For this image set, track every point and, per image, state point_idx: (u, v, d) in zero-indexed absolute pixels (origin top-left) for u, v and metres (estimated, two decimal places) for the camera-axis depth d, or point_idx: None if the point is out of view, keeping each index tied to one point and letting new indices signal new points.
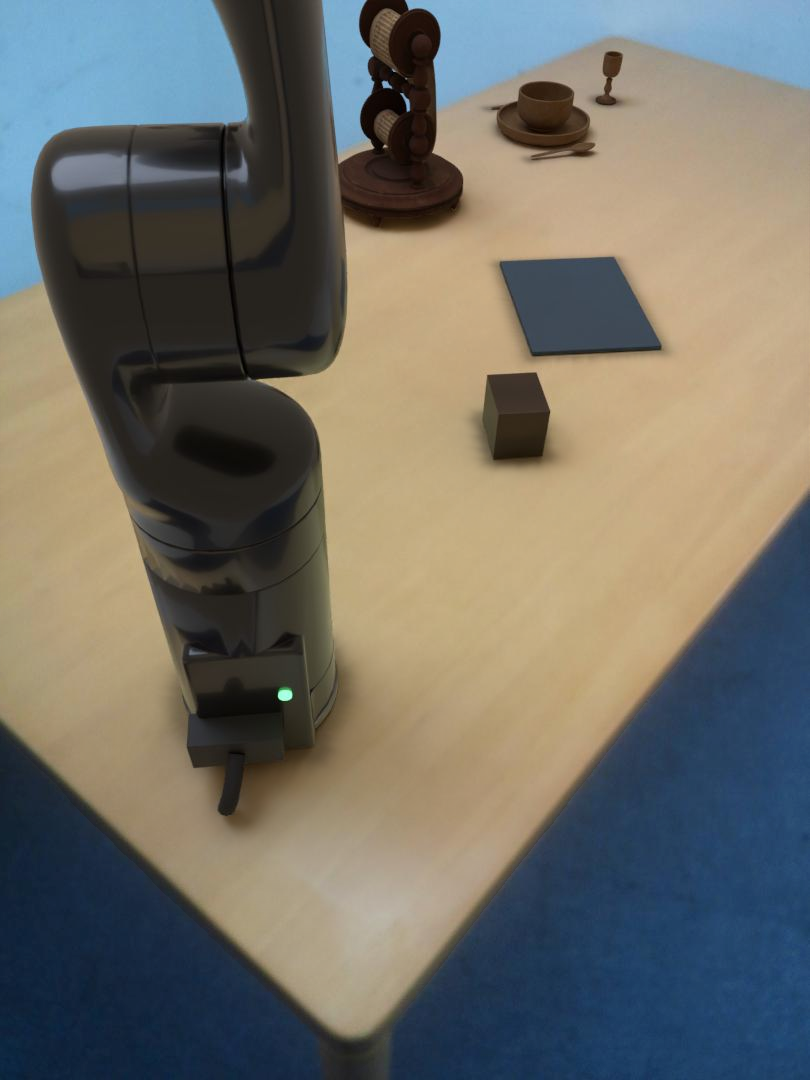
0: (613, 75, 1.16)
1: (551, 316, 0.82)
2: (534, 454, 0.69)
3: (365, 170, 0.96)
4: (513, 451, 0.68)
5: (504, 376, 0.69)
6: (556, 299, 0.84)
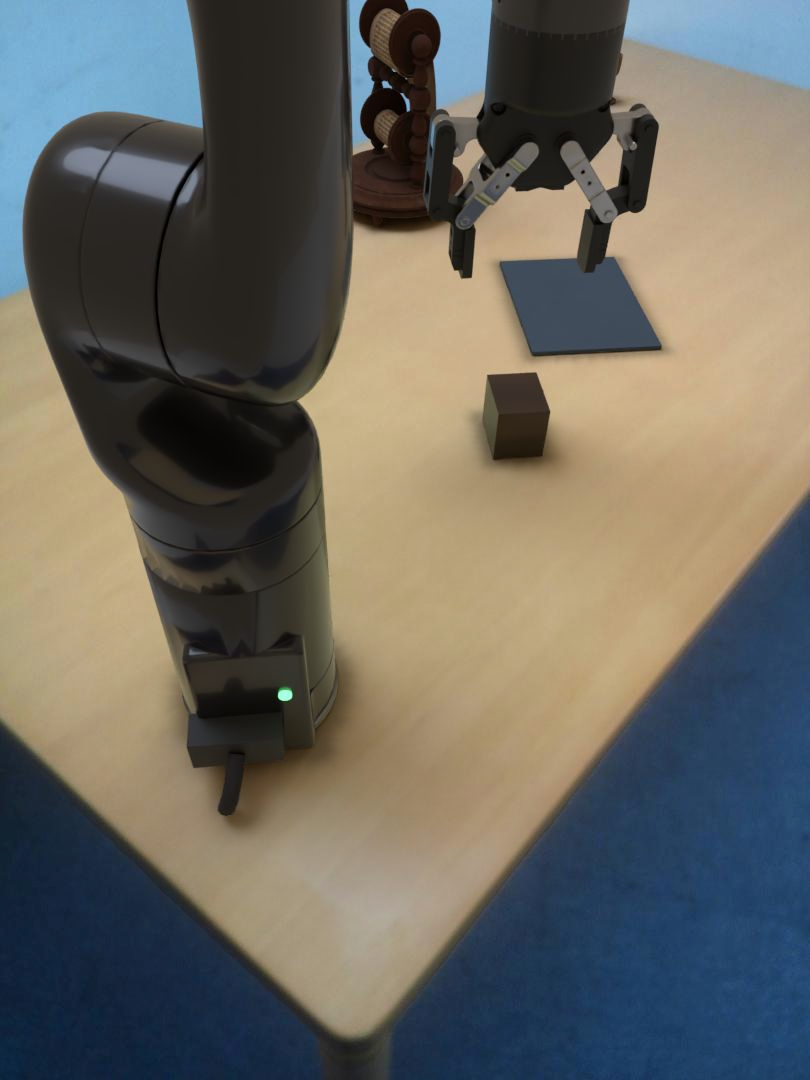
0: None
1: (551, 316, 0.82)
2: (534, 454, 0.69)
3: (365, 170, 0.96)
4: (513, 451, 0.68)
5: (504, 376, 0.69)
6: (556, 299, 0.84)
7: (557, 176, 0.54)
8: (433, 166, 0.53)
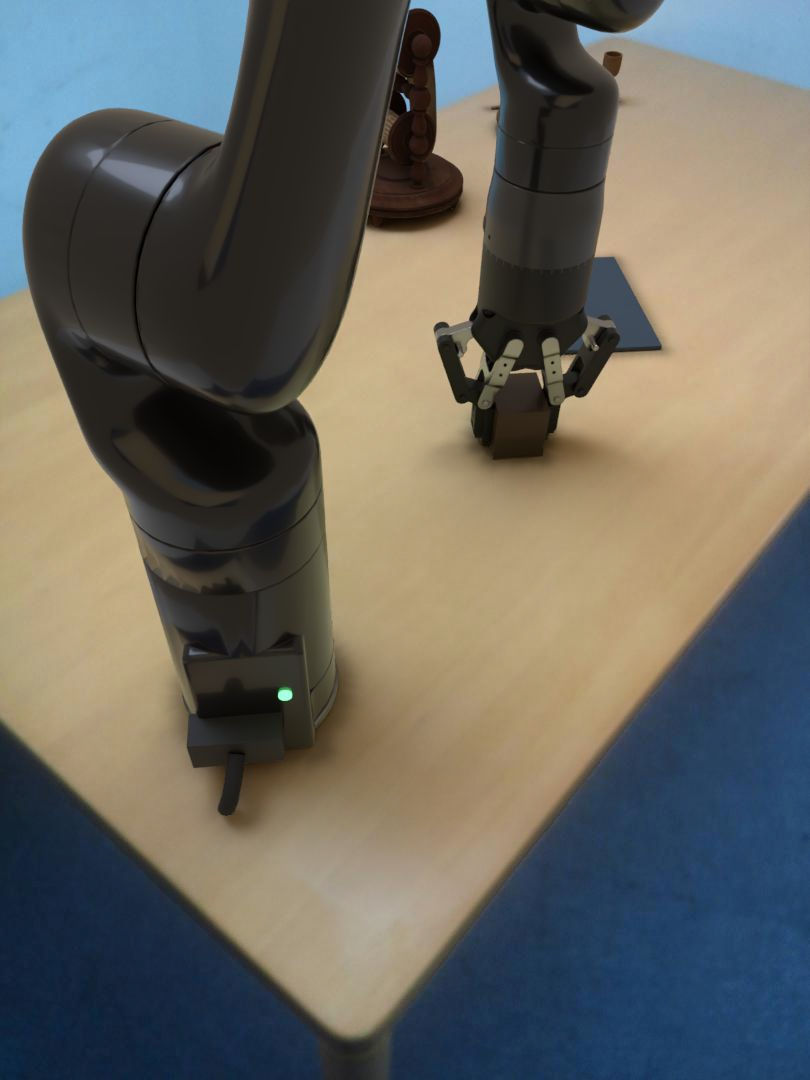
0: (613, 75, 1.16)
1: None
2: (534, 454, 0.69)
3: None
4: (513, 451, 0.68)
5: None
6: None
7: (540, 360, 0.64)
8: (445, 370, 0.63)
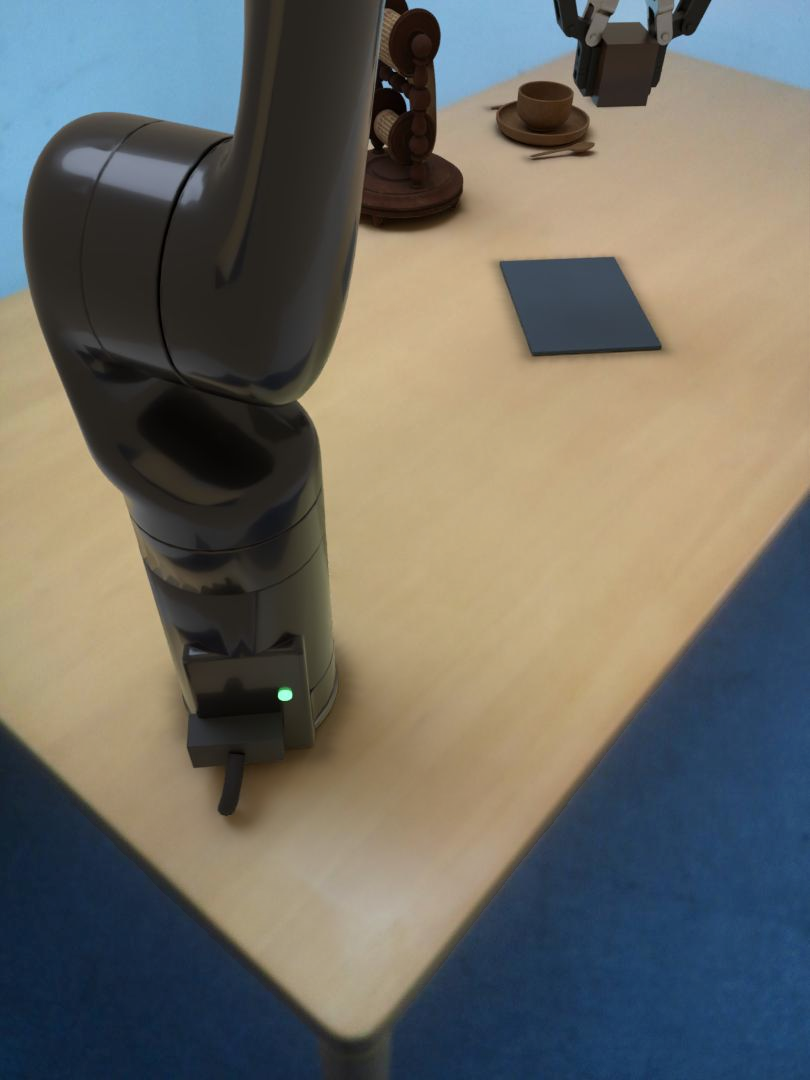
0: None
1: (551, 316, 0.82)
2: (638, 103, 0.68)
3: (365, 170, 0.96)
4: (617, 97, 0.68)
5: (608, 23, 0.68)
6: (556, 299, 0.84)
7: None
8: None
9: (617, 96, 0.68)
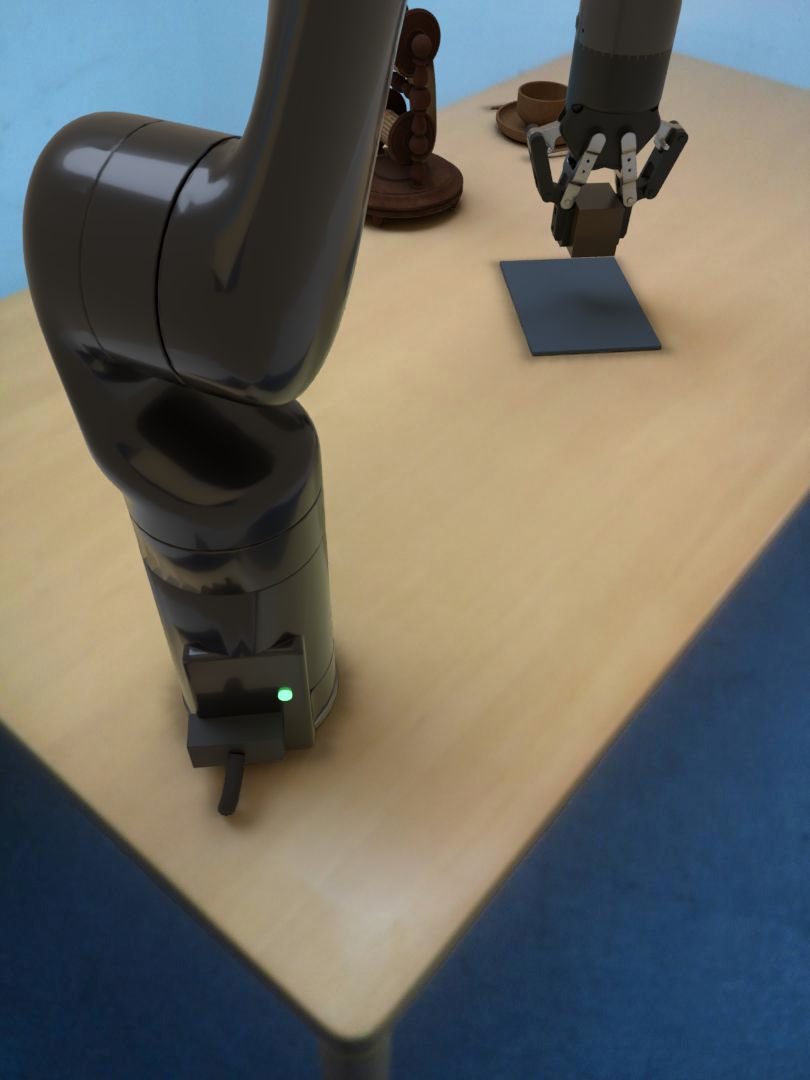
0: None
1: (551, 316, 0.82)
2: (607, 254, 0.78)
3: None
4: (589, 250, 0.77)
5: None
6: (556, 299, 0.84)
7: (617, 159, 0.73)
8: (535, 166, 0.73)
9: (589, 249, 0.77)
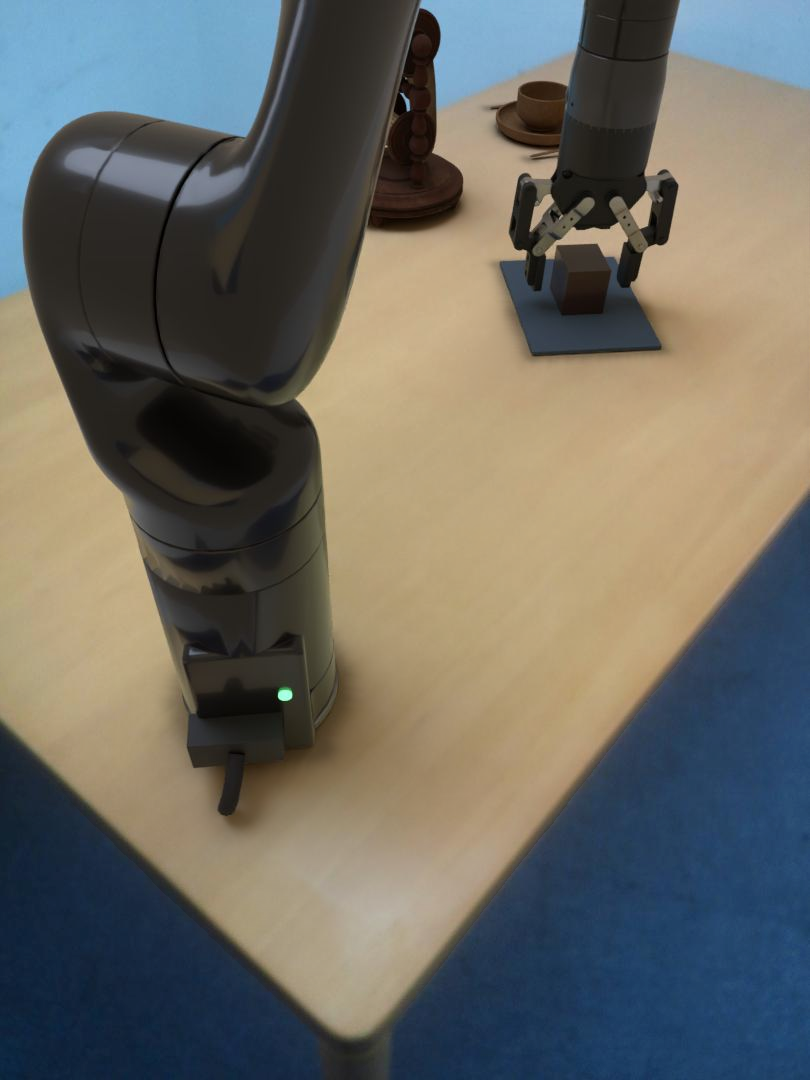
0: None
1: (551, 316, 0.82)
2: (596, 311, 0.82)
3: None
4: (578, 308, 0.82)
5: (571, 246, 0.82)
6: None
7: (606, 220, 0.77)
8: (519, 212, 0.75)
9: (578, 307, 0.82)
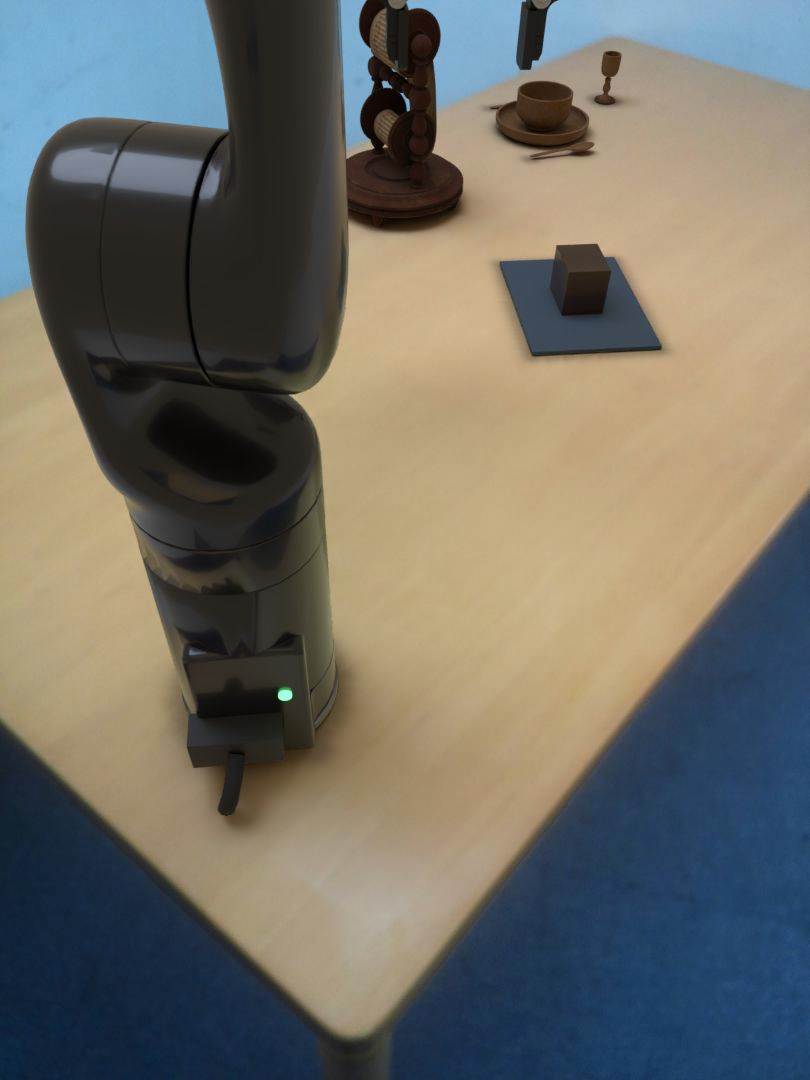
0: (612, 75, 1.16)
1: (551, 316, 0.82)
2: (596, 311, 0.82)
3: (365, 170, 0.96)
4: (578, 308, 0.82)
5: (571, 246, 0.82)
6: None
7: None
8: None
9: (578, 307, 0.82)
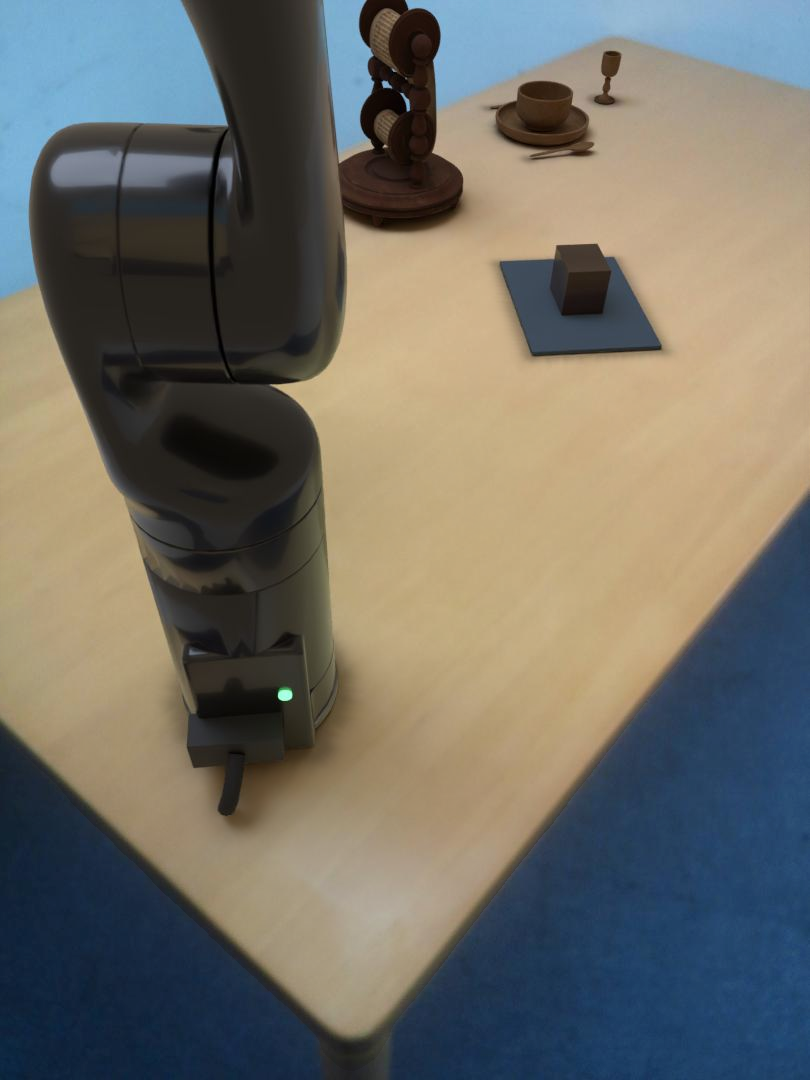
0: (612, 74, 1.16)
1: (551, 316, 0.82)
2: (596, 311, 0.82)
3: (365, 170, 0.96)
4: (578, 308, 0.82)
5: (571, 246, 0.82)
6: None
7: None
8: None
9: (578, 307, 0.82)
